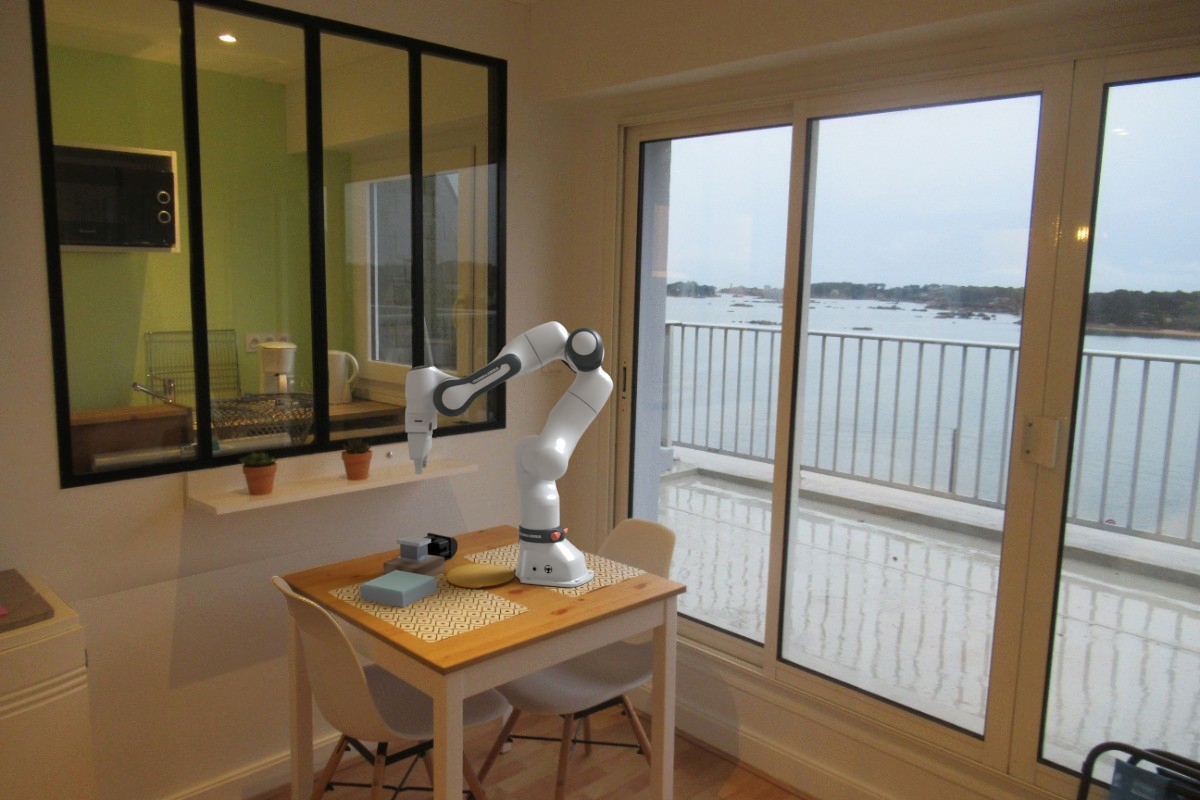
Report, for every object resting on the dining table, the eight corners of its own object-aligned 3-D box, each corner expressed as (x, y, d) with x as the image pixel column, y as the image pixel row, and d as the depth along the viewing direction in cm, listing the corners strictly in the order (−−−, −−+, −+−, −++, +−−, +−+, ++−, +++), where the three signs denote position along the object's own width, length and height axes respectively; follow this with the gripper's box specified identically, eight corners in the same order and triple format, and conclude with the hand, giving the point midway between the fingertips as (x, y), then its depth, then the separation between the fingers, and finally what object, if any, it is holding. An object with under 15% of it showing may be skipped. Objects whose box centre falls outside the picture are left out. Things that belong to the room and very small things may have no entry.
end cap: (458, 557, 257) (458, 535, 256) (441, 563, 251) (441, 540, 250) (435, 552, 262) (434, 530, 262) (417, 557, 256) (417, 535, 256)
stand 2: (437, 591, 226) (437, 576, 225) (402, 607, 213) (402, 592, 213) (396, 583, 232) (395, 569, 232) (360, 599, 220) (359, 584, 219)
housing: (431, 559, 241) (430, 538, 240) (419, 564, 236) (419, 543, 235) (409, 555, 244) (408, 535, 244) (397, 560, 240) (396, 539, 239)
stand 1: (444, 570, 243) (444, 557, 243) (417, 582, 233) (417, 568, 232) (411, 565, 249) (411, 551, 248) (383, 576, 238) (383, 562, 237)
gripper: (415, 417, 250) (415, 463, 251) (404, 427, 230) (404, 477, 231) (436, 417, 250) (436, 464, 252) (427, 427, 230) (427, 477, 231)
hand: (421, 470), depth 241 cm, fingers open, 8 cm apart
